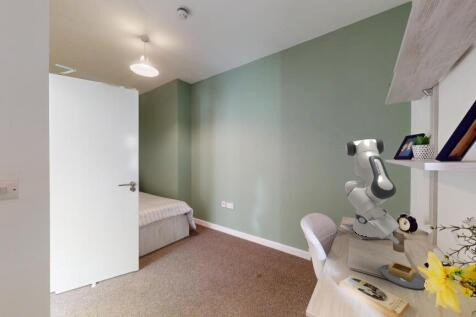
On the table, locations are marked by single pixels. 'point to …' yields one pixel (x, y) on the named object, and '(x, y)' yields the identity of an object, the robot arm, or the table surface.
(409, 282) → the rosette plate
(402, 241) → the walnut post
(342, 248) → the table surface
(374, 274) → the table surface
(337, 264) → the table surface
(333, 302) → the table surface
